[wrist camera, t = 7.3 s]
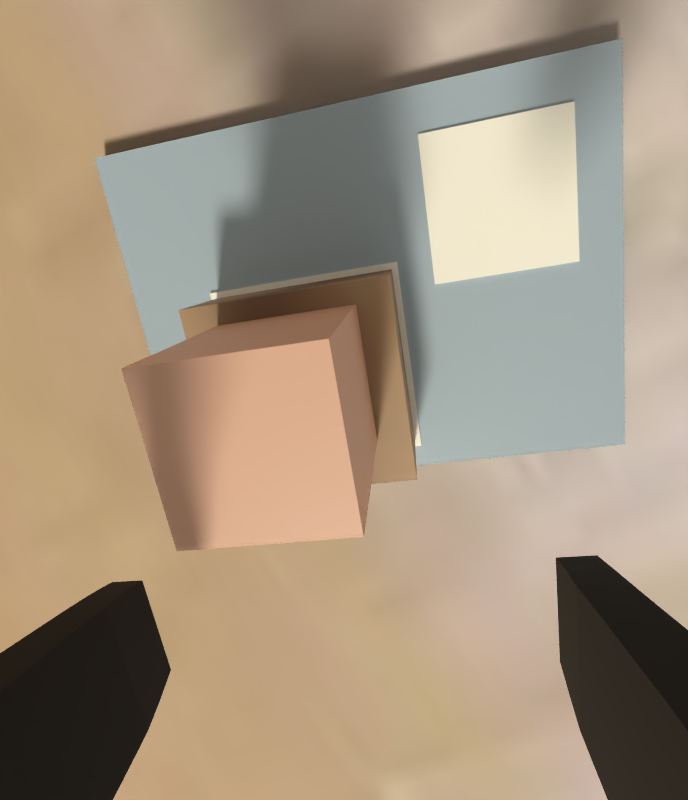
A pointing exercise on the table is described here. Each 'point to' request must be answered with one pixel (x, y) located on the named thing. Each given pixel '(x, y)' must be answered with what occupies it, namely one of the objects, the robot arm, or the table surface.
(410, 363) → the board
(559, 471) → the table surface
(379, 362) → the walnut block
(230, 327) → the terracotta block
